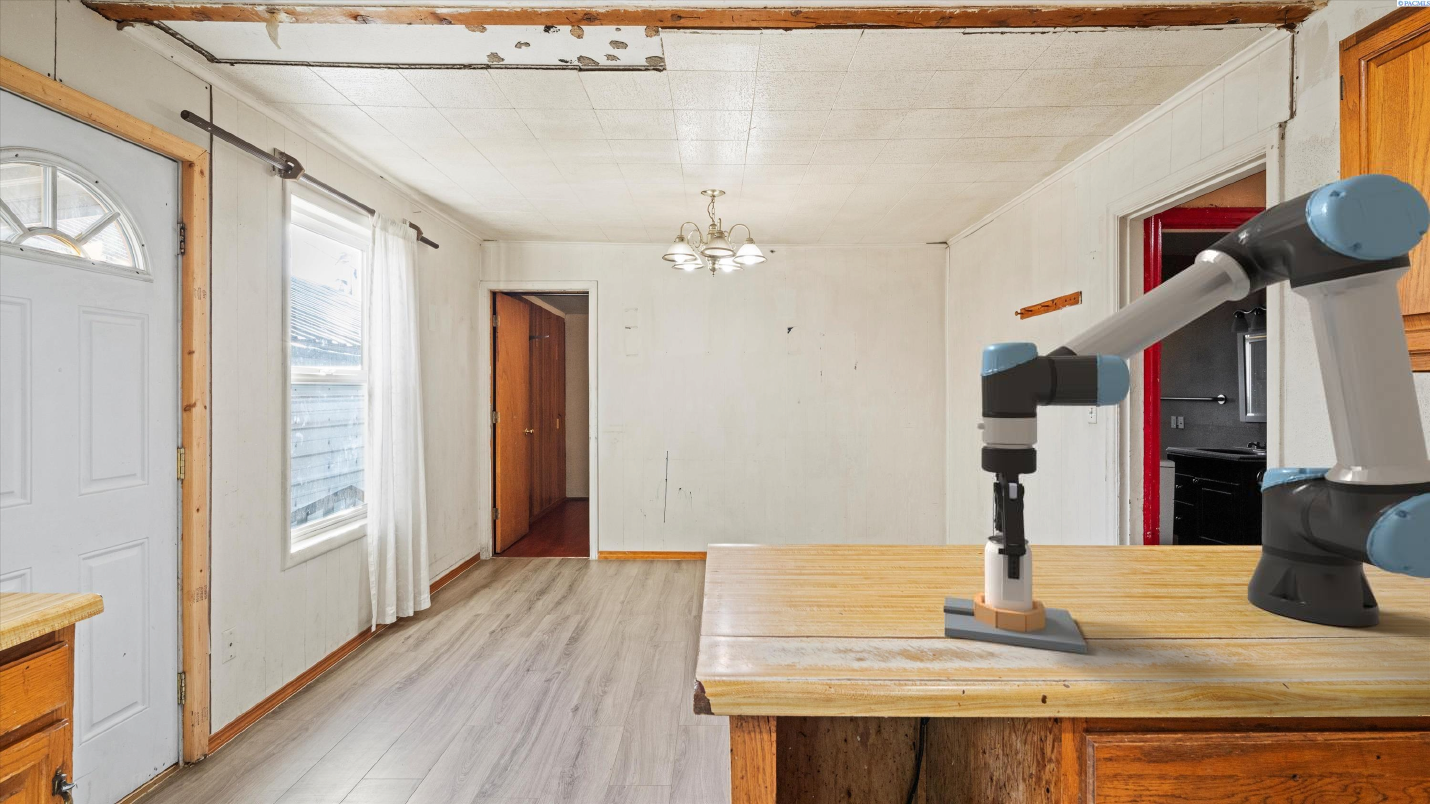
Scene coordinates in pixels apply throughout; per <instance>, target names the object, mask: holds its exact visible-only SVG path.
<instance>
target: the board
mask: <svg viewBox="0 0 1430 804" xmlns="http://www.w3.org/2000/svg"><path fill="white" fill-rule="evenodd" d="M1032 601H1033V610H1029V611H1024V612H1019V611H1010V610H1001V609H997V608H995V607H992V606H989V605H987V604H985V591H984V592H979V593H975V594H973V599H969V598H968V599H967V598H959V597H951V596H945V597H944V605H943V613H944V636H946V637H952V638H959V639H960V638H961V639H966V640H967V639H968V640H977V641H983V642H990V643H991V642H992V643H999V644H1005V645H1006V644H1007V645H1013V646H1022V647H1029V648H1038V649H1045V650H1052V651H1053V650H1054V651H1059V652H1060V651H1062V652H1066V653H1067V652H1068V653H1069V652H1070V653H1075V654H1076V653H1077V654H1083V655H1086V654H1087V644H1086V642H1085V640H1084V638H1083V636H1082V634H1081V633H1080V630H1079V628H1078V627H1077V625H1076V623H1075V621H1074V620H1073V618H1072V615H1071V614H1070V611H1069V610H1068V609H1062V608H1052V607H1045V606H1044V604H1043V602H1042V601H1041V600H1039V599H1035V598H1033V597H1032Z"/></svg>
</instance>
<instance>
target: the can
mask: <svg viewBox="0 0 1430 804" xmlns="http://www.w3.org/2000/svg"><path fill="white" fill-rule="evenodd" d="M987 540H988V541H987V542H986V545H985V547H984V592H985V604H987V605H989V606H992V607H995V608H997V609H1001V610H1010V611H1019V612H1024V611H1029V610H1033V601H1032V598H1033V551H1032V549H1031V547H1030V545H1029V542H1030V541H1029V540H1028V539H1026V538H1025V549H1026V554H1025V555H1024V602H1018V601H1009V600H1002V555H1000V554H998V548H1004V547H1003V535H995V534H994V535H990V536H988V537H987ZM1009 545H1011V544H1009ZM1017 546H1018V545H1017Z"/></svg>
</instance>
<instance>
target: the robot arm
mask: <svg viewBox="0 0 1430 804" xmlns="http://www.w3.org/2000/svg"><path fill="white" fill-rule="evenodd" d="M1429 228H1430V208H1429V204H1428V203H1427V200H1426V198H1425V197H1424V196H1423V194H1422V192H1420V191H1419V190H1418V189H1417V187H1414V186H1413V185H1412V184H1411V183H1410V182H1407V181H1402V180H1401V179H1400V178H1398V177H1397V176H1393V175H1389V174H1384V173H1364V174H1359V175H1354V176H1352V177H1347V178H1344V179H1341V180H1336V181H1334V182H1331V183H1327V184H1324V185H1322V186H1320V187H1318V188H1316V189H1313V190H1311V191H1309V192H1307V193H1304V194H1302V195H1299V196H1297V197H1295V198H1292V199H1289V200H1286V201H1283V202H1280V203H1278V204H1275V205H1273V206H1271V207H1269V208H1267V209H1265V210H1263V211H1261V212H1260V213H1258V214H1256V215H1255V216H1253V217H1252V218H1250V219H1249V220H1248V221H1246V222H1244V223H1243V224H1241V225H1240V226H1238V227H1236V229H1234V230H1232V231H1231V232H1230V233H1228V234H1226V235H1225V236H1224V237H1223V238H1221V239H1219V240H1218V241H1217V242H1215V243H1213V244H1212V245H1210V246H1209V247H1207V248H1205V249H1204V250H1202V251H1201V252H1199V253H1198V254H1197V255H1196V257H1195V259H1194V264H1192V265H1190V266H1188V267H1187V268H1186V269H1184V270H1182V271H1180V272H1179V273H1177V274H1175V275H1174V276H1173V277H1170V278H1168V279H1167V280H1166V281H1164V282H1163V283H1162V284H1159V285H1158V286H1156V287H1155V288H1153V289H1151V290H1149V291H1148V292H1146V293H1144V295H1143V294H1142V296H1139V297H1138V298H1137V299H1135V300H1134V301H1132V302H1130V303H1128V304H1127V305H1125V306H1124V307H1122V308H1121V309H1119V310H1117V311H1115V312H1113V314H1111V315H1109V316H1107V317H1106V318H1104V319H1102V320H1101V321H1099V322H1098V323H1096V324H1094V325H1093V326H1091V327H1090V328H1087V329H1086V330H1085V331H1083V332H1082V333H1080V334H1078V335H1076V336H1075V337H1073V338H1072V339H1070V340H1069V341H1067V342H1065V343H1064V344H1062V345H1060V346H1059V347H1057V348H1055V349H1054V350H1052V351H1051V352H1049V353H1047V354H1046V355H1039V352H1038V346H1037V345H1036V344H1035V343H1034V342H1021V341H1019V342H1016V341H1015V342H1014V341H1013V342H999V343H997V342H996V343H991V344H988V345H987V346H985V347H984V348H983V351H982V359H981V372H980V377H981V379H980V380H981V421H982V422H980V423H979V422H978V423H977V424H976V426H977V429H978V430H982V431H981V442H982V443H983V444H986V445H983V447H982V448H981V452H980V453H981V454H980V455H981V459H980V460H981V465H980V466H981V469H982V470H983V471H984V472H987V473H993V474H995V476H994V477H995V478H996V481H995V482H994V481H993V486H992V487H993V495H994V496H993V498H994V506H995V507H994V509H995V510H994V519H993V522H994V529H995V532H994V535H1003V547H1004V548H998V554H1000V555H1002V600H1009V601H1018V602H1024V555H1025V554H1026V549H1025V539H1026V537H1025V519H1024V514H1025V513H1024V510H1025V504H1024V503H1025V502H1024V501H1025V500H1024V499H1025V492H1026V491H1025V486H1024V485H1023V483H1020V477H1019V476H1020V475H1030V474H1034V473H1035V472H1037V469H1038V467H1037V466H1038V465H1037V461H1038V459H1037V457H1038V453H1037V452H1038V450H1037V449H1036V448H1035V447H1034V446H1033V445H1036V444H1037V443H1038V410H1037V409H1038V407H1048V406H1051V407H1052V406H1053V407H1054V406H1055V407H1057V406H1058V407H1096V408H1100V407H1103V406H1105V407H1106V406H1117V405H1120V404H1121V403H1123V401H1124V400H1125V399H1126V398H1127V396H1128V394H1129V391H1130V387H1131V374H1130V373H1131V372H1130V369H1129V366H1128V364H1127V363H1126V361H1127V360H1130V359H1131V358H1132V357H1134V356H1136V355H1138V354H1139V353H1141V352H1143V351H1144V350H1146V349H1147V348H1149V347H1151V346H1152V345H1154V344H1155V343H1158V342H1159V341H1161V340H1163V339H1165V338H1166V337H1168V336H1170V335H1171V334H1173V333H1174V332H1176V331H1178V330H1179V329H1181V328H1183V327H1185V326H1186V325H1189V323H1192V321H1194V320H1196V319H1198V318H1199V317H1201V316H1203V315H1204V314H1206V313H1208V312H1209V311H1212V310H1213V309H1214V308H1216V307H1217V306H1219V305H1221V304H1224V302H1227V301H1235V302H1236V301H1240V300H1242V299H1244V298H1246V297H1248V296H1249V295H1251V294H1253V293H1255V292H1256V291H1258V290H1259V291H1260V290H1261V289H1264V288H1267V287H1269V286H1272V285H1276V284H1278V283H1281V282H1285V281H1288V282H1289V285H1290V291H1291V292H1293V293H1294V294H1297V295H1299V296H1301V297H1303V298H1304V299H1306V301H1307V302H1308V308H1309V313H1310V320H1311V324H1312V330H1313V336H1314V341H1315V347H1316V352H1317V358H1318V362H1319V369H1320V375H1321V381H1322V386H1323V391H1324V397H1325V404H1326V409H1327V415H1328V419H1329V423H1330V424H1329V425H1330V431H1331V435H1332V441H1333V446H1334V451H1335V456H1336V464H1335V465H1334V466H1332V467H1272V468H1269V469H1267V470H1266V471H1265V472H1264V474H1263V478H1262V485H1261V488H1260V492H1261V494H1262V495H1261V496H1262V499H1261V501H1262V502H1261V503H1262V505H1261V506H1262V507H1261V508H1262V509H1261V510H1262V512H1261V515H1262V517H1261V520H1262V521H1261V557H1260V559H1259V561H1258V563H1257V565H1256V568H1255V569H1254V570H1253V571H1254V572H1253V574H1252V577H1251V578H1250V579H1249V583H1248V585H1247V600H1248V601H1249V602H1250V603H1251V604H1253V605H1254V606H1255V607H1259V608H1261V609H1263V610H1266V611H1268V612H1272V613H1274V614H1278V615H1281V616H1285V617H1289V618H1293V619H1297V620H1302V621H1306V622H1307V621H1308V622H1311V623H1317V624H1324V625H1331V626H1341V627H1357V628H1358V627H1373V626H1375V625H1378V624H1379V623H1380V607H1379V604H1378V602H1377V600H1376V597H1375V595H1374V592H1373V589H1372V587H1371V585H1370V583H1369V580H1368V578H1367V575H1366V573H1365V571H1364V564H1367V565H1370V566H1373V567H1376V568H1379V569H1380V570H1381V571H1382V570H1383V571H1385V572H1388V573H1392V574H1398V575H1399V574H1401V575H1405V576H1410V577H1414V578H1419V579H1420V578H1421V579H1430V459H1429V455H1428V452H1427V445H1426V440H1425V435H1424V434H1425V433H1424V429H1423V424H1422V418H1421V412H1420V406H1419V401H1418V397H1417V390H1416V385H1415V379H1414V378H1415V377H1414V372H1413V367H1412V362H1411V357H1410V352H1409V347H1408V346H1409V344H1408V341H1407V335H1406V331H1405V330H1406V329H1405V324H1404V318H1403V312H1402V308H1401V303H1400V298H1399V291H1398V287H1397V286H1398V283H1399V281H1400V280H1401V279H1402V278H1404V276H1406V274H1407V273H1408V272H1409V271H1410V270H1411V269H1412V266H1411V259H1410V254H1409V252H1410V251H1412V250H1413V249H1415V248H1416V247H1417V246H1418V245H1419V244H1420V243H1421V242H1422V240H1423V236H1424V235H1426V234H1427V233H1428V230H1429ZM1009 544H1011V545H1009ZM1017 545H1018V546H1017Z"/></svg>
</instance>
